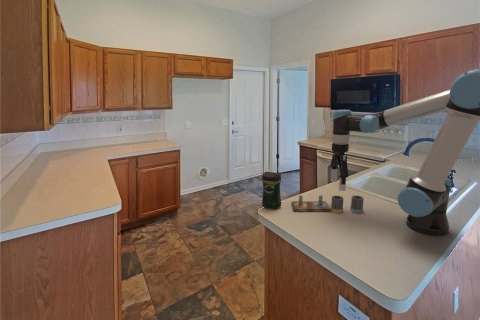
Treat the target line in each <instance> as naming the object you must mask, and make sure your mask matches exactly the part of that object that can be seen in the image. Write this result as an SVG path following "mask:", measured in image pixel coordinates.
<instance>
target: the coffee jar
mask: <svg viewBox="0 0 480 320" xmlns="http://www.w3.org/2000/svg"><path fill="white" fill-rule="evenodd" d="M261 182H262V189H263V190H262V201H261V206H262V207H263V208H265V209H271V210H277V209H280V208H281V207H282V200H281V199H282V197H281V182H282V175H281V173H280V172H272V171H265V172H263V173H262V177H261Z"/></svg>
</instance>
